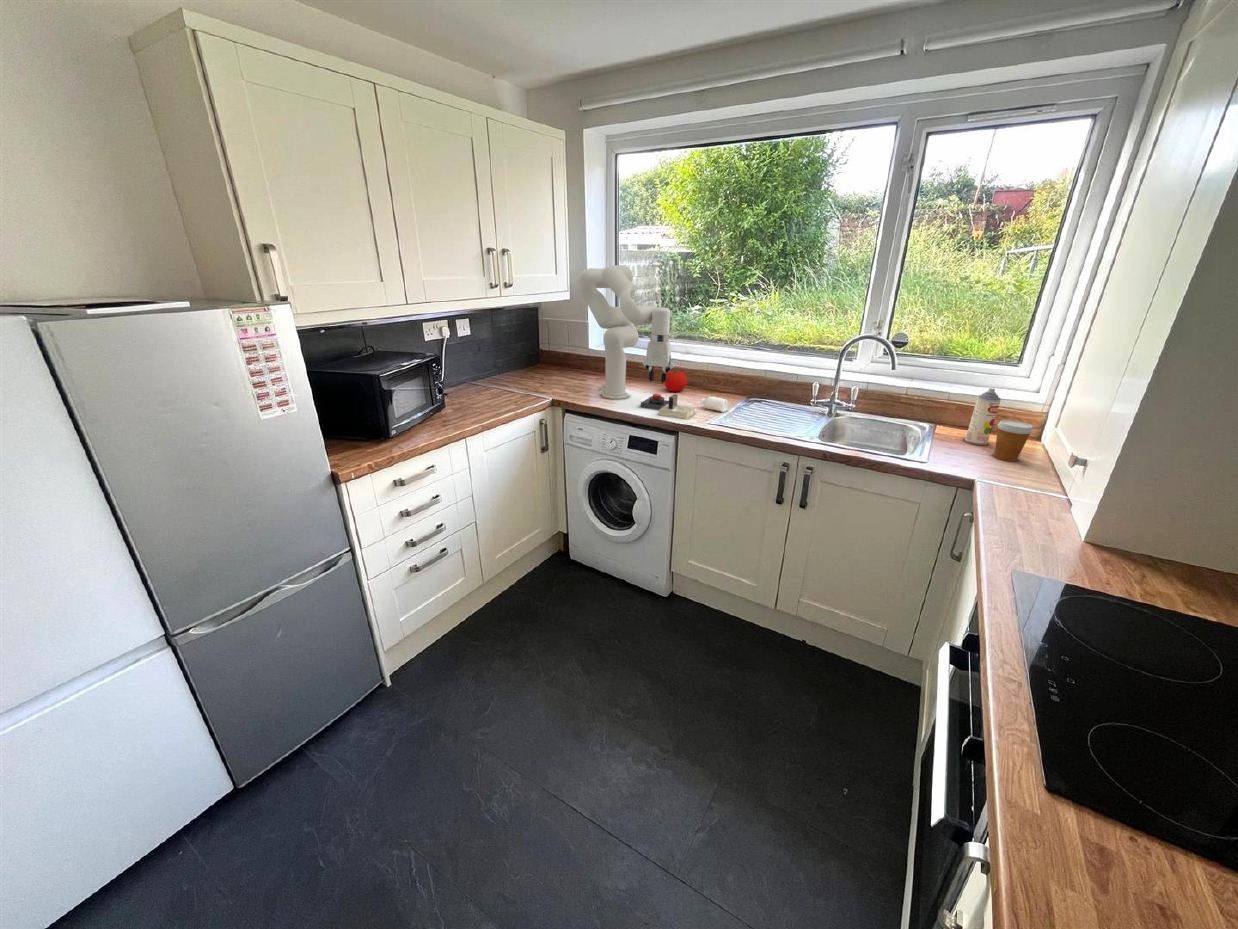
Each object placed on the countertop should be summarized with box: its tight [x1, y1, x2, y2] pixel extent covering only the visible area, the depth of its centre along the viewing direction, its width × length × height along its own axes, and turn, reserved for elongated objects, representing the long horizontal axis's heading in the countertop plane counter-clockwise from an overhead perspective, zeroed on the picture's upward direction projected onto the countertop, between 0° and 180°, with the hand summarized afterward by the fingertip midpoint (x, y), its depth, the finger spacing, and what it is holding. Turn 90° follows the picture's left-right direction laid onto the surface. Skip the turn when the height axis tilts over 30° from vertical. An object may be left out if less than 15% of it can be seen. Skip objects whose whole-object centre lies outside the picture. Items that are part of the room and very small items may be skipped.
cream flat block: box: [658, 404, 696, 420], centre depth 209 cm, size 13×10×3 cm
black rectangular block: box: [668, 393, 679, 409], centre depth 208 cm, size 6×2×5 cm, turn 154°
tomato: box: [664, 369, 688, 393], centre depth 247 cm, size 12×12×10 cm
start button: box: [652, 393, 662, 399], centre depth 218 cm, size 4×4×2 cm
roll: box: [699, 396, 729, 413], centre depth 216 cm, size 6×12×6 cm, turn 51°
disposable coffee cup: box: [993, 419, 1034, 462], centre depth 165 cm, size 10×10×12 cm
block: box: [640, 395, 669, 411], centre depth 219 cm, size 11×9×4 cm
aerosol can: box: [964, 387, 1001, 446], centre depth 179 cm, size 7×7×20 cm
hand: (657, 381), depth 215 cm, fingers open, 4 cm apart
